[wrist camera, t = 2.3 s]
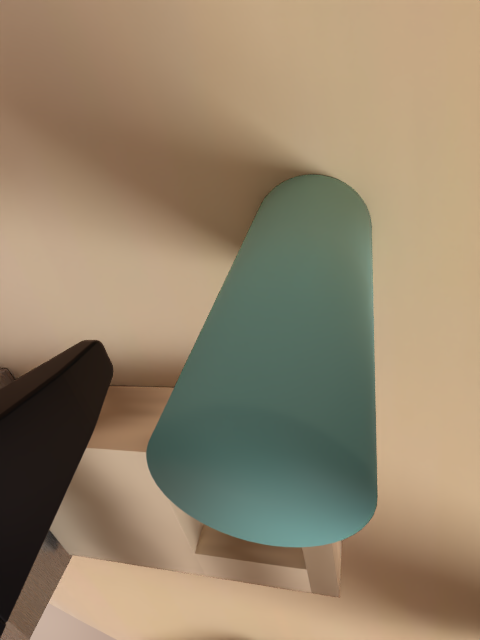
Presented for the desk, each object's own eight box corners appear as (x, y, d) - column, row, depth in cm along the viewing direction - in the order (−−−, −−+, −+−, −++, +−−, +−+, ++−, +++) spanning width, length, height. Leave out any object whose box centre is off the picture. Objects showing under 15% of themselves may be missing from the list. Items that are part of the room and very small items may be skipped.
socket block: (328, 391, 18) (321, 465, 15) (342, 526, 23) (339, 597, 21) (24, 383, 22) (-24, 439, 19) (98, 498, 28) (69, 554, 25)
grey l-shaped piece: (62, 361, 20) (-110, 575, 13) (148, 517, 28) (69, 710, 20) (-23, 360, 22) (-220, 553, 14) (80, 508, 29) (-17, 686, 22)
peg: (370, 167, 12) (375, 410, 5) (372, 278, 14) (378, 560, 7) (245, 181, 13) (113, 401, 6) (264, 283, 15) (180, 534, 8)
